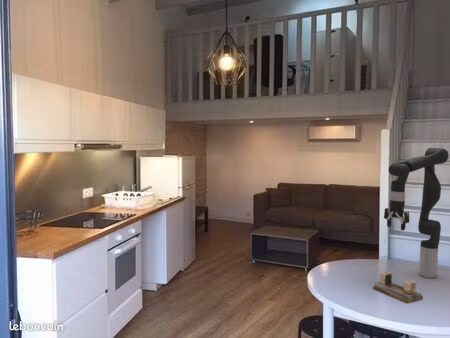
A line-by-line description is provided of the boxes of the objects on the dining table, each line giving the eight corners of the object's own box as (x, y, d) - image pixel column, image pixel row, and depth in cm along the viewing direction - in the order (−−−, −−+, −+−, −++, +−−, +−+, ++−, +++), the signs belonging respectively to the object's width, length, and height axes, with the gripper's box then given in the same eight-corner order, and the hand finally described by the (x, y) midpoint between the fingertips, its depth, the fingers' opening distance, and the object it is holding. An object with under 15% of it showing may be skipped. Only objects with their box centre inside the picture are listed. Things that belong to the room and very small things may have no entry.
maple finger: (408, 297, 185) (409, 283, 185) (402, 295, 188) (403, 281, 188) (415, 295, 188) (416, 282, 187) (409, 293, 190) (410, 279, 190)
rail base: (388, 285, 205) (389, 269, 205) (422, 298, 188) (423, 282, 187) (373, 288, 200) (373, 273, 199) (406, 303, 182) (407, 286, 182)
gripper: (413, 201, 203) (411, 230, 204) (390, 197, 216) (389, 225, 217) (404, 201, 200) (402, 232, 201) (381, 198, 212) (380, 226, 213)
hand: (395, 228), depth 209 cm, fingers open, 8 cm apart
